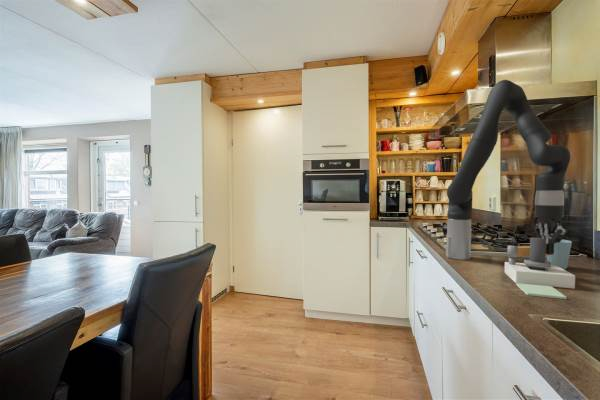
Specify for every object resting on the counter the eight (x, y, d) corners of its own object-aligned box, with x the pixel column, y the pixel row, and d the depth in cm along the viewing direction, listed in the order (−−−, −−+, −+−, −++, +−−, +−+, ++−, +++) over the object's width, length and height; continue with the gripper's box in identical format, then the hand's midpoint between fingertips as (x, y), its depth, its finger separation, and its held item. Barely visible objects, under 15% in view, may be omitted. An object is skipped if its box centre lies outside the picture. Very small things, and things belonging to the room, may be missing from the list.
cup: (574, 271, 105) (575, 243, 105) (547, 268, 109) (548, 241, 108) (566, 266, 112) (567, 239, 112) (541, 263, 116) (542, 238, 115)
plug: (528, 282, 94) (529, 239, 94) (520, 275, 101) (521, 236, 100) (554, 284, 92) (556, 241, 91) (544, 277, 98) (546, 237, 98)
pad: (527, 295, 83) (527, 293, 83) (516, 285, 92) (516, 283, 92) (566, 299, 80) (566, 297, 80) (551, 288, 88) (551, 286, 88)
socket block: (516, 283, 93) (516, 263, 93) (504, 272, 104) (504, 255, 104) (574, 288, 88) (575, 268, 88) (555, 276, 99) (556, 258, 99)
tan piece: (511, 257, 100) (511, 247, 100) (505, 255, 103) (505, 245, 102) (551, 256, 100) (552, 246, 100) (544, 254, 103) (545, 244, 103)
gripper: (578, 204, 91) (577, 258, 92) (545, 202, 104) (545, 250, 105) (553, 205, 92) (552, 258, 92) (524, 203, 105) (523, 250, 106)
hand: (548, 254), depth 99 cm, fingers closed
